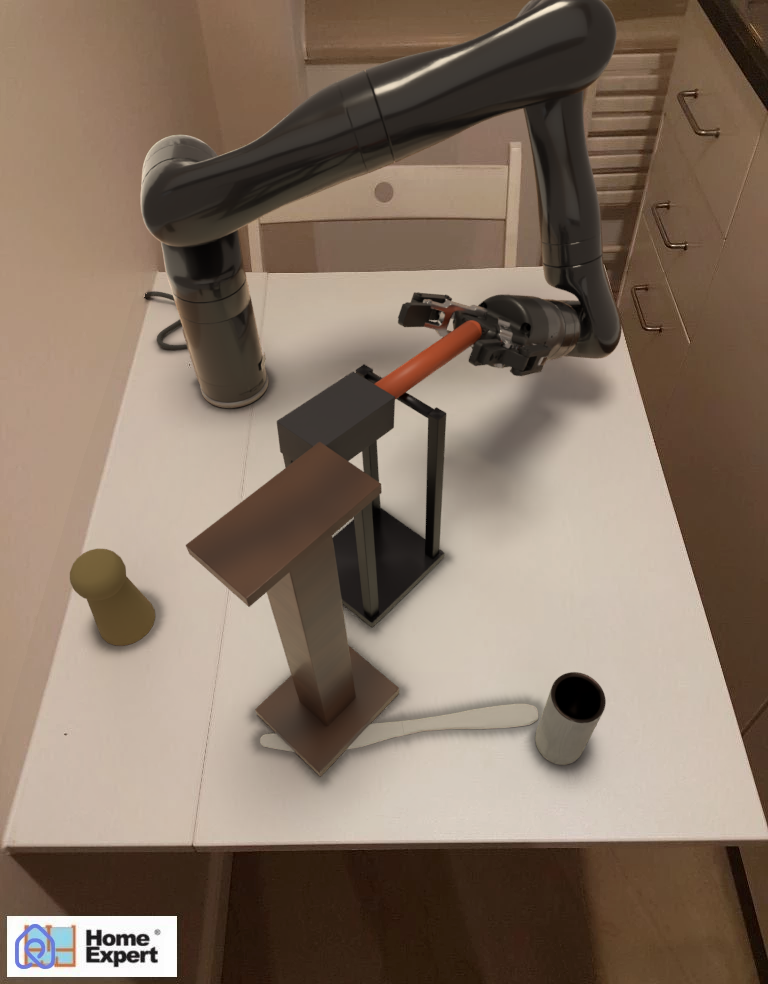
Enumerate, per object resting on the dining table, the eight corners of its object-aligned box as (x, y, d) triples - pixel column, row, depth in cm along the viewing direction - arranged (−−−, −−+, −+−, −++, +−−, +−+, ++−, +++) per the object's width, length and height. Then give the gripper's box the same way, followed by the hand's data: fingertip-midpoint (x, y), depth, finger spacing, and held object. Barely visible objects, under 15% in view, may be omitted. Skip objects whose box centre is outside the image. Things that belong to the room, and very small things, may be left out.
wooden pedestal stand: (253, 718, 71) (170, 532, 47) (339, 635, 76) (305, 431, 52) (316, 781, 67) (262, 613, 43) (402, 689, 72) (397, 494, 48)
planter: (586, 726, 69) (609, 680, 61) (579, 772, 66) (601, 730, 58) (540, 712, 70) (556, 665, 62) (530, 756, 67) (546, 713, 59)
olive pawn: (141, 650, 76) (107, 596, 67) (88, 640, 76) (48, 585, 68) (164, 601, 79) (134, 543, 71) (113, 592, 80) (77, 534, 72)
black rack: (301, 570, 81) (270, 427, 64) (373, 507, 87) (363, 359, 69) (372, 627, 76) (360, 491, 59) (444, 557, 82) (453, 412, 64)
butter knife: (542, 731, 68) (535, 700, 70) (259, 759, 68) (259, 727, 70) (541, 733, 69) (535, 702, 71) (260, 761, 68) (260, 729, 70)
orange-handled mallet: (280, 452, 61) (276, 420, 59) (456, 331, 73) (460, 301, 71) (320, 481, 59) (318, 450, 56) (496, 352, 71) (501, 321, 69)
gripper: (479, 273, 80) (393, 264, 67) (589, 325, 74) (517, 326, 61) (455, 336, 83) (368, 339, 71) (558, 391, 77) (484, 405, 64)
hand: (437, 333), depth 66 cm, fingers open, 8 cm apart
